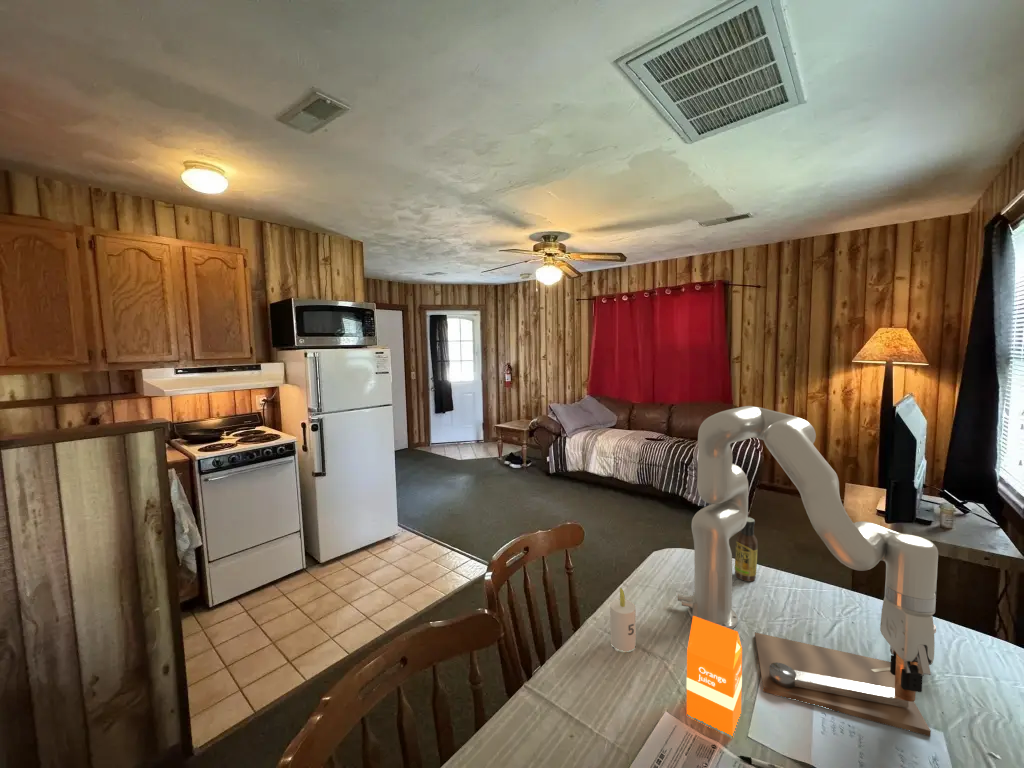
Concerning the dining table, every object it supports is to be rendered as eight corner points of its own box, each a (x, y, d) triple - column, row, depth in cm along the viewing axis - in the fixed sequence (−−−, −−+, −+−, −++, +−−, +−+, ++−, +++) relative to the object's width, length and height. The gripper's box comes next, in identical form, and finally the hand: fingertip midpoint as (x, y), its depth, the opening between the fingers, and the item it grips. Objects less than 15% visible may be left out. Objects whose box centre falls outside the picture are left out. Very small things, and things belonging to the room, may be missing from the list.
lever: (772, 685, 94) (773, 635, 93) (766, 668, 99) (768, 621, 98) (920, 714, 86) (924, 659, 85) (907, 694, 91) (910, 643, 90)
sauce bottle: (730, 574, 142) (731, 516, 141) (744, 570, 144) (745, 513, 143) (746, 584, 136) (747, 523, 135) (761, 580, 138) (762, 520, 137)
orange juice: (697, 692, 95) (698, 606, 93) (741, 712, 89) (743, 622, 88) (685, 716, 89) (686, 625, 87) (732, 740, 83) (734, 643, 82)
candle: (621, 656, 106) (621, 599, 105) (605, 640, 112) (604, 586, 111) (641, 649, 109) (641, 592, 108) (624, 633, 115) (624, 580, 114)
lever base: (763, 691, 95) (763, 686, 94) (754, 636, 112) (754, 631, 112) (930, 736, 83) (930, 730, 83) (891, 667, 101) (891, 661, 100)
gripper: (867, 574, 96) (864, 651, 98) (910, 619, 80) (905, 710, 82) (909, 578, 94) (905, 658, 95) (961, 625, 78) (955, 719, 80)
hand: (905, 681), depth 89 cm, fingers closed on lever, 3 cm apart
